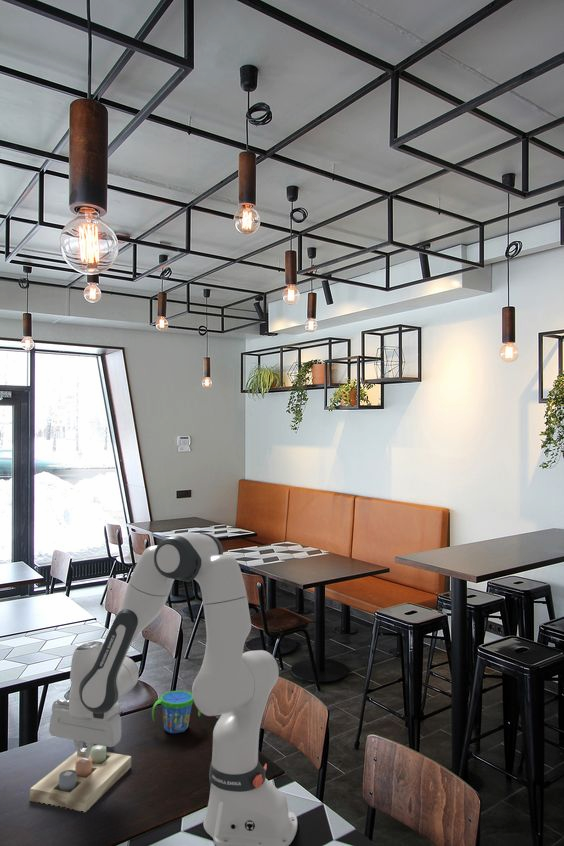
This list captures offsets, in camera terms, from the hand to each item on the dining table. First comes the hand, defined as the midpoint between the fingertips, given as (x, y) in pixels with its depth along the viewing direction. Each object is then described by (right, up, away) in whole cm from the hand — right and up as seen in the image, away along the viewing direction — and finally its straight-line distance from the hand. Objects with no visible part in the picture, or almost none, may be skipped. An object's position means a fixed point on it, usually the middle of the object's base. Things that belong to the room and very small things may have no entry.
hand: (83, 756), depth 159 cm
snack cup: (+19, -9, +31) cm, 38 cm away
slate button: (-2, -4, -7) cm, 9 cm away
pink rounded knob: (0, -5, -1) cm, 5 cm away
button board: (0, -7, -1) cm, 7 cm away
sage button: (+2, -5, +6) cm, 8 cm away
